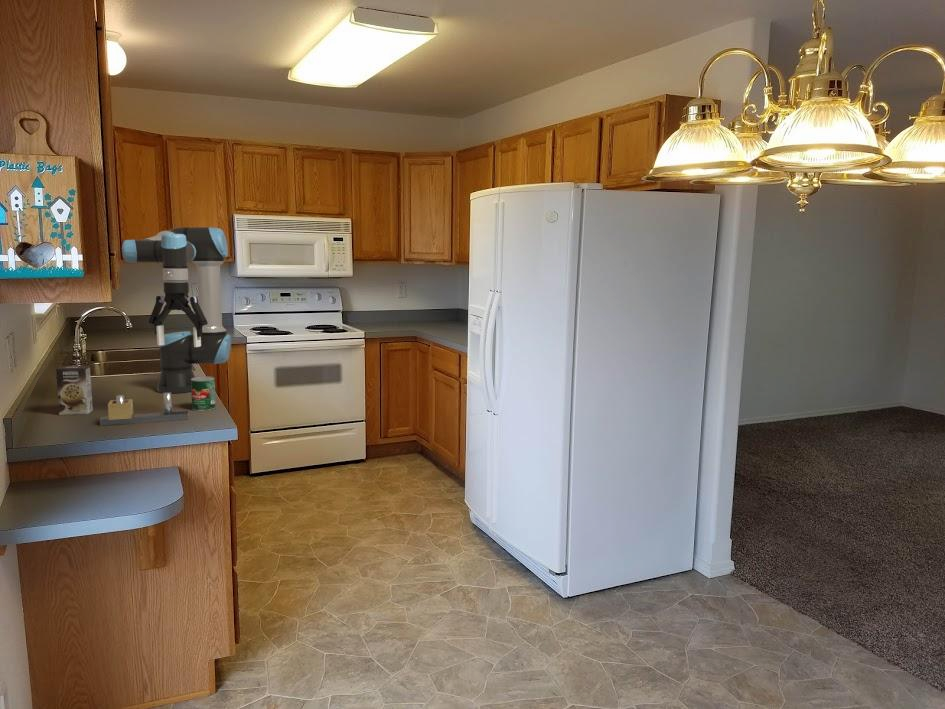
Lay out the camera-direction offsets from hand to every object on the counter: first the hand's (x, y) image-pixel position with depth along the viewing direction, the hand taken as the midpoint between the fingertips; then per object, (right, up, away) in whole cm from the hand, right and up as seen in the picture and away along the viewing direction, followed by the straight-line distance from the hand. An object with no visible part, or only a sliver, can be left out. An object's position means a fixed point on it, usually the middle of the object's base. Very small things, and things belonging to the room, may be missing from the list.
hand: (179, 346), depth 224 cm
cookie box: (-39, -23, +9) cm, 46 cm away
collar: (-17, -23, -4) cm, 29 cm away
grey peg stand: (-11, -25, -1) cm, 27 cm away
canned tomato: (+1, -22, +17) cm, 28 cm away
